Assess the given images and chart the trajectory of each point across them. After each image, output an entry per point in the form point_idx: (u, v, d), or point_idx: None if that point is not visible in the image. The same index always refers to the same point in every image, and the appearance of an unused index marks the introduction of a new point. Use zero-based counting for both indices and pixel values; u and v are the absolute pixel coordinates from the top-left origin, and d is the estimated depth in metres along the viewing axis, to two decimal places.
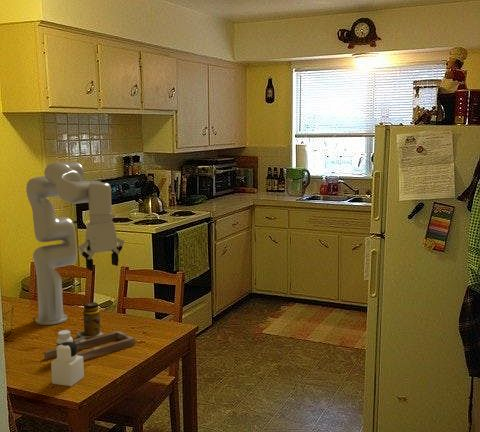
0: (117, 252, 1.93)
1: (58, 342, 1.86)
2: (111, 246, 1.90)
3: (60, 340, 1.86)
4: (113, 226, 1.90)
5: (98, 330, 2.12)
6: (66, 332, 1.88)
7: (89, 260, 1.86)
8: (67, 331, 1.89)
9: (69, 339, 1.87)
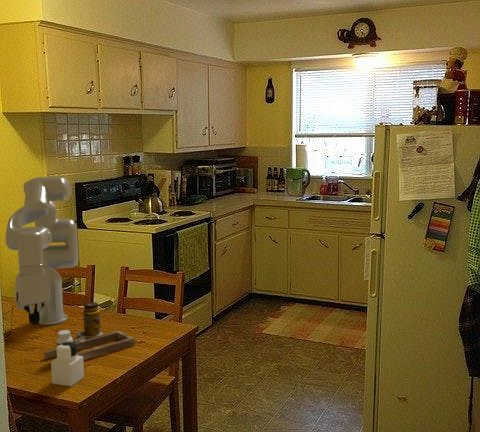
0: (38, 310, 1.79)
1: (58, 342, 1.86)
2: (43, 297, 1.79)
3: (60, 340, 1.86)
4: (45, 277, 1.79)
5: (98, 330, 2.12)
6: (66, 332, 1.88)
7: (32, 314, 1.78)
8: (67, 331, 1.89)
9: (69, 339, 1.87)
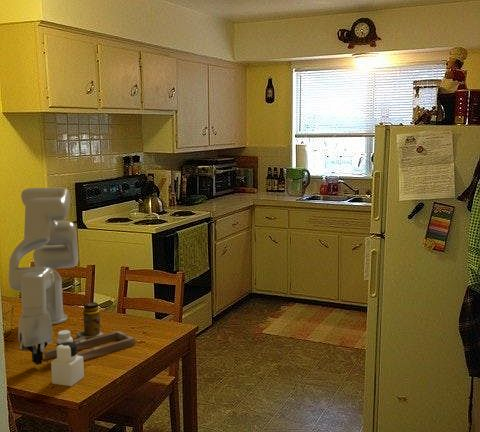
0: (41, 350, 1.82)
1: (58, 342, 1.86)
2: (46, 337, 1.81)
3: (60, 340, 1.86)
4: (48, 317, 1.81)
5: (98, 330, 2.12)
6: (66, 332, 1.88)
7: (35, 354, 1.81)
8: (67, 331, 1.89)
9: (69, 339, 1.87)
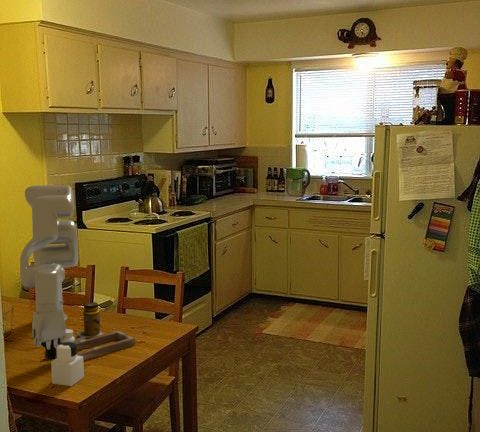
0: (54, 345, 1.85)
1: (60, 340, 1.87)
2: (59, 333, 1.84)
3: (62, 339, 1.87)
4: (61, 313, 1.84)
5: (98, 330, 2.12)
6: (69, 331, 1.88)
7: (48, 350, 1.84)
8: (70, 330, 1.89)
9: (71, 338, 1.88)
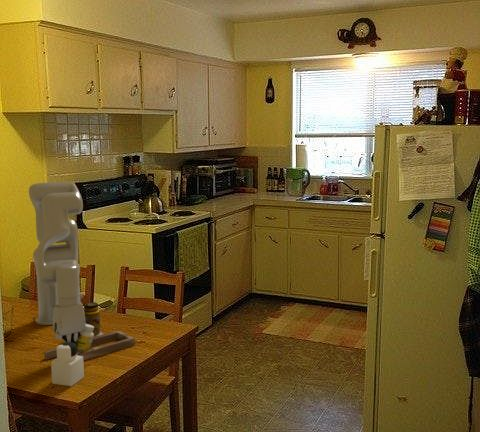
0: (74, 339, 1.89)
1: (80, 333, 1.91)
2: (79, 327, 1.89)
3: (83, 332, 1.91)
4: (81, 307, 1.89)
5: (98, 330, 2.12)
6: (90, 326, 1.93)
7: None
8: (91, 326, 1.94)
9: (91, 333, 1.92)
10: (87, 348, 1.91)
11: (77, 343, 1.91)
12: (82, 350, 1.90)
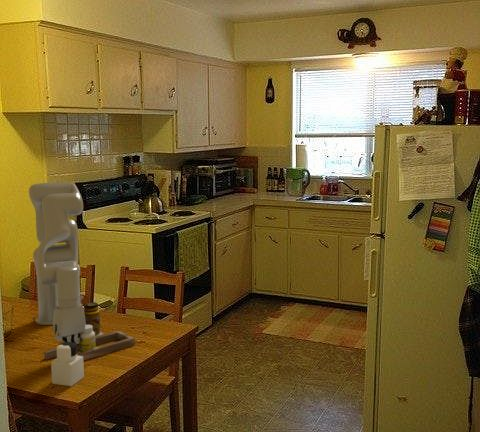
0: (75, 340, 1.90)
1: (81, 336, 1.92)
2: (80, 328, 1.90)
3: (83, 334, 1.92)
4: (81, 309, 1.89)
5: (98, 330, 2.12)
6: (88, 327, 1.93)
7: None
8: (89, 326, 1.94)
9: (91, 333, 1.92)
10: None
11: (81, 346, 1.92)
12: None
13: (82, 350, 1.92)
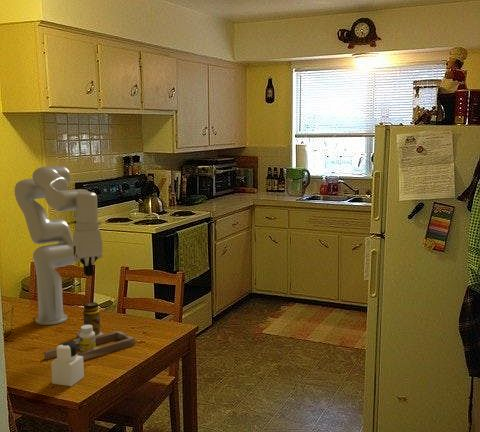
0: (92, 263, 2.01)
1: (81, 336, 1.92)
2: (97, 252, 2.00)
3: (83, 334, 1.92)
4: (99, 233, 2.00)
5: (98, 330, 2.12)
6: (88, 326, 1.93)
7: (86, 266, 2.00)
8: (89, 326, 1.94)
9: (91, 333, 1.93)
10: None
11: (81, 346, 1.92)
12: None
13: (82, 350, 1.92)
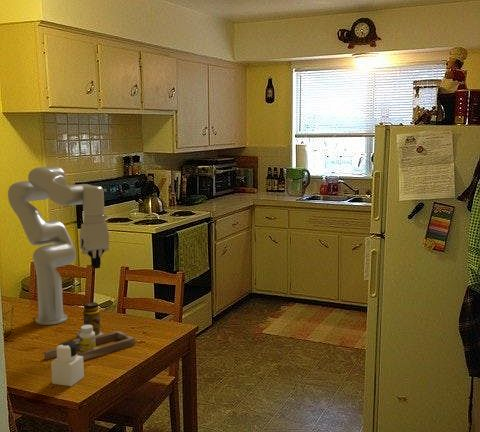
0: (99, 255, 2.05)
1: (81, 336, 1.92)
2: (104, 244, 2.05)
3: (83, 334, 1.92)
4: (106, 226, 2.05)
5: (98, 330, 2.12)
6: (88, 327, 1.93)
7: (94, 259, 2.04)
8: (90, 326, 1.94)
9: (91, 333, 1.93)
10: None
11: (81, 346, 1.92)
12: None
13: (82, 350, 1.92)
